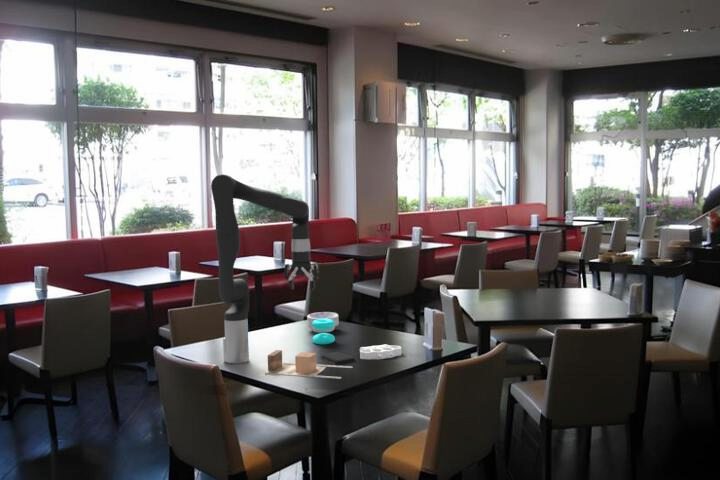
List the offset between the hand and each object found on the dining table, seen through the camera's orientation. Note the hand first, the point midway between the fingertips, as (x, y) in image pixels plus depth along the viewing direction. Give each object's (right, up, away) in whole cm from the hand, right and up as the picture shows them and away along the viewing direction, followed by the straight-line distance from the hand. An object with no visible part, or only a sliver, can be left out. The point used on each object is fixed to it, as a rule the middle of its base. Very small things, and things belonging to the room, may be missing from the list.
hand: (302, 289), depth 265 cm
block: (+3, -29, -20) cm, 35 cm away
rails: (+5, -30, -21) cm, 37 cm away
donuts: (+7, -26, +29) cm, 39 cm away
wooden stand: (-1, -30, -19) cm, 35 cm away
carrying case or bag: (+15, -29, -5) cm, 33 cm away
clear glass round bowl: (+6, -24, +52) cm, 57 cm away
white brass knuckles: (+31, -28, +4) cm, 42 cm away
